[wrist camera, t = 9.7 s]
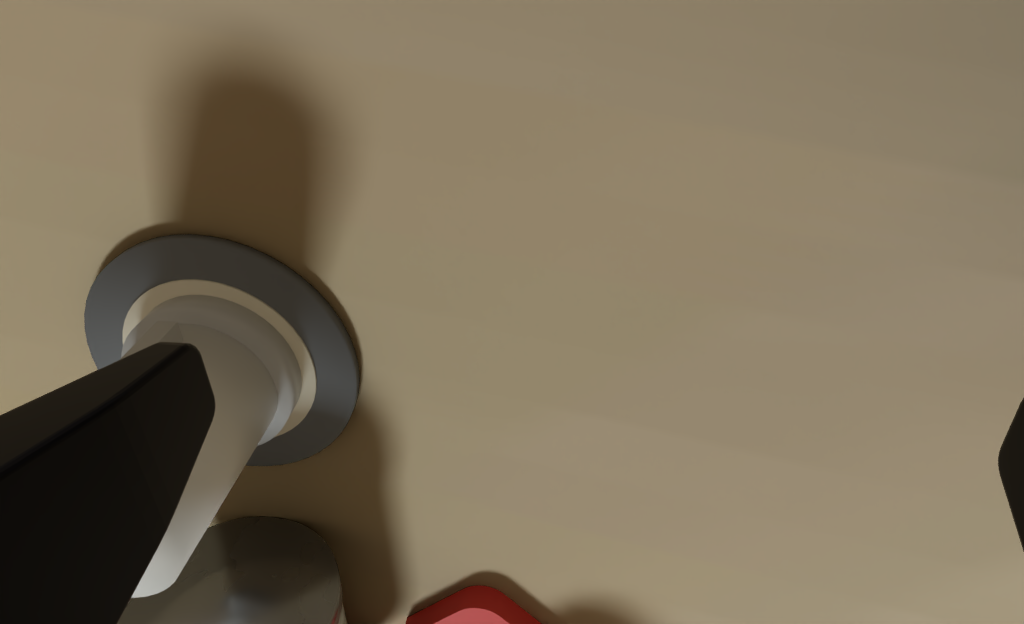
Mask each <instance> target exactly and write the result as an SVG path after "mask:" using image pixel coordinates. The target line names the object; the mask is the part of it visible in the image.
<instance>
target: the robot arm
mask: <svg viewBox="0 0 1024 624" xmlns="http://www.w3.org/2000/svg"><path fill="white" fill-rule="evenodd" d="M214 414H215V397H214V393H213V390H212V387H211V384H210V381H209V378H208V375H207V371H206V368H205V365H204V362H203V359H202V356H201V353H200V351H199V350H198V349H197V347H196V346H194V345H192V344H190V343H177V342H158V343H155V344H153V345H151V346H148V347H146V348H144V349H142V350H140V351H138V352H136V353H133V354H131V355H129V356H127V357H125V358H123V359H121V360H118V361H116V362H114V363H112V364H110V365H108V366H105V367H103V368H101V369H99V370H97V371H95V372H93V373H90V374H88V375H86V376H84V377H82V378H80V379H78V380H75V381H73V382H71V383H69V384H67V385H65V386H62V387H60V388H58V389H56V390H54V391H52V392H50V393H47V394H45V395H43V396H41V397H39V398H37V399H35V400H32V401H30V402H28V403H26V404H24V405H22V406H19V407H17V408H15V409H13V410H11V411H9V412H7V413H4V414H2V415H0V624H117V623H118V621H119V619H120V617H121V615H122V614H123V612H124V610H125V608H126V606H127V604H128V602H129V601H130V599H131V597H132V595H133V593H134V591H135V590H136V588H137V586H138V584H139V582H140V580H141V578H142V577H143V575H144V573H145V571H146V569H147V567H148V565H149V564H150V562H151V560H152V558H153V556H154V554H155V552H156V551H157V549H158V547H159V545H160V543H161V541H162V539H163V537H164V535H165V533H166V531H167V529H168V527H169V524H170V522H171V520H172V518H173V516H174V513H175V511H176V509H177V506H178V504H179V501H180V499H181V496H182V494H183V492H184V489H185V487H186V484H187V482H188V479H189V477H190V475H191V472H192V470H193V467H194V465H195V462H196V460H197V457H198V455H199V453H200V450H201V448H202V445H203V443H204V440H205V438H206V436H207V433H208V431H209V428H210V426H211V423H212V421H213V418H214ZM998 466H999V473H1000V477H1001V480H1002V483H1003V486H1004V489H1005V493H1006V496H1007V499H1008V502H1009V506H1010V509H1011V512H1012V515H1013V518H1014V522H1015V525H1016V528H1017V531H1018V535H1019V538H1020V541H1021V544H1022V547H1023V551H1024V398H1023V400H1022V402H1021V403H1020V405H1019V408H1018V410H1017V412H1016V414H1015V417H1014V419H1013V421H1012V423H1011V426H1010V428H1009V430H1008V432H1007V435H1006V437H1005V439H1004V441H1003V444H1002V446H1001V449H1000V452H999V457H998Z"/></svg>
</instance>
